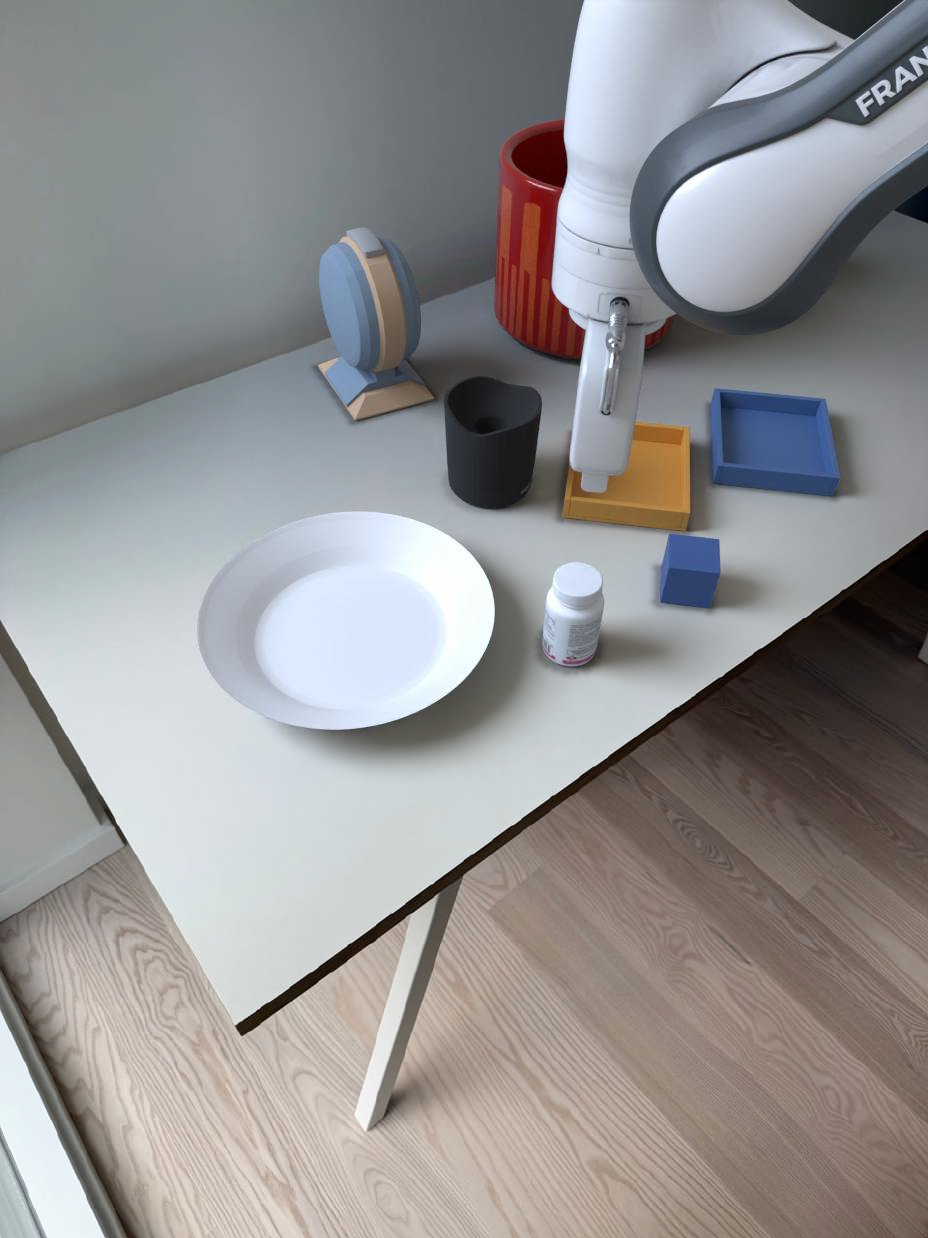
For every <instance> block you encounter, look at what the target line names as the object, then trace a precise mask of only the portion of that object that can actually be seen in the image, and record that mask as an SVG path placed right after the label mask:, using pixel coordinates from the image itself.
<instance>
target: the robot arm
mask: <svg viewBox="0 0 928 1238" xmlns="http://www.w3.org/2000/svg"><path fill="white" fill-rule="evenodd" d="M565 104H566V105H565V113H564V119H565V124H564V142H565V147H566V153H567V159H568V172H567V178H566V183H565V186H564V189H563V191H562V194H561V197H560V200H559V204H558V212H557V225H556V237H555V250H554V260H553V272H552V289H553V292H554V294H555V296H556V297H557V299H558V300H559V301H560V302H561V303H562V304H563V305H565V306H566V307H568V308H569V314H570V316H571V318H572V319H573V321H574V322H575V323H576V324H578V325H579V326H580V327H581V328H583V329H585V330H586V333H585V339H584V345H583V352H582V358H581V360H580V366H579V373H578V379H577V389H576V396H575V404H574V412H573V422H572V430H571V438H570V446H569V447H570V448H569V463H570V465H571V468H572V469H573V470H575V471H578V472H583V473H582V482H581V488H582V490H584V491H586V492H594V493H603V492H605V491H606V490H607V486H608V480H609V475H610V476H619V475H622V474H623V473H624V472H625V470H626V468H627V466H628V462H629V457H630V452H631V446H632V440H633V434H634V428H635V422H637V421H636V420H637V413H638V409H639V402H640V395H641V390H642V389H641V388H642V381H643V372H644V364H645V363H644V362H645V361H644V360H645V350H644V349H645V335H648V334H651V333H653V332H655V331H656V330H658V329H660V328H661V327H662V326H663V325H664V323H665V322H666V319H667V318H668V317H670V316H673V315H675V316H676V315H678V316H679V317H680V318H682V319H684V320H686V321H687V322H689V323H690V324H692V325H694V326H697V327H699V328H701V329H703V330H706V331H708V332H709V331H710V332H712V333H716V334H721V335H726V336H735V337H747V336H748V337H749V336H756V335H757V336H758V335H763V334H766V333H771V332H774V331H776V330H777V331H778V330H779V329H781V328H784V327H785V326H788V325H790V324H792V323H793V322H795V321H796V320H798V319H799V318H801V317H802V316H803V315H805V314H806V313H807V312H808V311H809V310H810V309H811V308H813V307H814V306H815V304H817V303H818V301H819V300H821V298H822V297H823V296H824V295H825V294H826V292H827V290H828V289H829V288H830V287H831V285H832V284H833V283H834V281H835V280H836V278H837V277H838V275H839V274H840V273H841V271H842V270H843V268H844V266H845V265H847V263H848V261H849V260H850V259H851V257H852V255H853V254H854V253H855V251H856V250H857V249H858V248H859V246H860V245H861V244H862V243H863V241H864V240H865V239H866V238H867V236H868V235H869V234H870V233H871V232H872V231H873V230H874V229H875V228H876V227H877V226H878V225H879V224H880V223H881V222H883V220H884V219H885V218H886V217H888V216H889V215H890V214H891V213H892V212H893V211H894V210H896V209H897V208H898V207H901V205H902V204H904V203H905V202H906V201H908V200H909V199H911V198H912V197H913V196H915V195H917V194H918V193H919V192H921V191H922V190H924V189H925V188H927V187H928V0H902V1H901V2H900V3H899V4H898V5H896V6H894V8H892V9H891V10H890V11H889V12H887V14H885V15H883V17H882V18H880V19H879V20H878V21H877V22H875V23H874V24H873V25H872V26H870V27H869V28H868V29H867V30H866V31H864V32H863V33H862V34H861V35H860V36H859V37H857V38H851V37H850V36H848V35H846V34H843V33H841V32H840V31H838V30H835V29H833V28H831V27H830V26H828V25H825V24H824V23H822V22H821V21H818V20H816V19H815V18H814V17H812V16H810V15H809V14H807V13H806V12H804V11H803V10H801V9H800V8H798V7H797V6H795V5H794V4H793V3H792V2H790V1H789V0H583V3H582V6H581V10H580V14H579V19H578V23H577V28H576V33H575V39H574V45H573V49H572V56H571V64H570V71H569V79H568V84H567V93H566V103H565Z"/></svg>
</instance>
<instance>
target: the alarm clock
mask: <svg viewBox="0 0 928 1238" xmlns="http://www.w3.org/2000/svg"><path fill="white" fill-rule="evenodd" d="M345 233H346V236H342V237H341V239H340V240H339V241H338V242H336V243H333V244H331V245H330V246H329V248H328V249H327V250H326V251H324V253H323V254H322V256H321V258H320V263H319V268H318V269H319V270H318V285H319V294H320V301H321V305H322V310H323V315H324V318H325V322H326V325H327V328H328V331H329V334H330V336H331V339H332V341H333V343H334V346H335V347H336V349H337V351H338V353H339V354H340V356H339V357H336V358H333V359H331V360H330V359H329V360H327V361H325V362H322V363H319V364H317V367H318V369H319V371H320V372H321V374H322V375H323V376H324V377H325V379H326V380H327V382H328V383H329V385H330V386H331V388H332V389H333V391H334V393H335V394H336V395H337V397H338V398H339V399H340V401H341V403H342V404H343V405H344V407H345V408H346V410H347V411H348V413H349V414H350V416H351V417H352V418H353V420H354V421H355V422H357V421H362V420H366V419H368V418H373V417H376V416H380V415H383V414H387V413H391V412H394V411H398V410H401V409H405V408H409V407H412V406H416V405H420V404H423V403H427V402H431V401H435V399H436V398H435V396H434V395H433V394H432V393H431V391H430V390H429V389H428V388H427V386H426V385H427V384H426V383H425V381H423V379H422V378H421V377H420V375H419V374H418V373H417V372H416V371H415V369H414V368H413V367H412V366H411V364H410V363H409V361H407V359H409V358H411V356H412V355H413V354H414V353H415V352H416V350H417V349H418V347H419V345H420V339H421V335H422V334H421V333H422V313H421V304H420V299H419V292H418V289H417V285H416V281H415V278H414V274H413V272H412V270H411V267H410V265H409V263H408V261H407V259H406V257H405V255H404V253H403V252H402V250H401V249H400V248H399V246H398V245H397V243H395V242H394V241H392V240H391V239H389V238H387V237H385V236H383V235H376V234H375V232H373V231H372V230H371V229H369V228H367V227H364V226H362V227H358V228H352V229H348V230H346V231H345Z"/></svg>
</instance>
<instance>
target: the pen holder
mask: <svg viewBox="0 0 928 1238" xmlns="http://www.w3.org/2000/svg"><path fill="white" fill-rule="evenodd" d="M443 409H444V411H443V412H444V430H445V447H446V464H447V478H448V484H449V487H450V489H451V491H452V493H454V495H455V496H456V497H458V499H460V500H461V501H463V502H465V503H466V504H468V505H472V506H474V507H477V508H484V509H498V508H499V509H501V508H504V507H509V506H512V505H513V504H516V503H517V502H519V501H520V500H522V499H523V498H524V497H526V496H527V494H528V493H529V492H530V489H531V487H532V483H533V478H534V472H535V465H536V457H537V450H538V443H539V442H538V441H539V434H540V425H541V420H542V419H541V418H542V411H543V410H542V409H543V399H542V396H541V394H540V392H539V391H538V390H537V389H536V388H534V387H532V386H529V385H521V384H520V385H519V384H512V383H508V382H505V381H503V380H501V379H498V378H495V377H493V376H489V375H482V374H479V375H471V376H468V377H465V378H463V379H460V380H458V381H457V382H455V383H454V384H452V385H451V386H450V387H449V388H448V389H447V390H446V392H445V394H444V398H443Z"/></svg>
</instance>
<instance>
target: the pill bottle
mask: <svg viewBox="0 0 928 1238" xmlns="http://www.w3.org/2000/svg"><path fill="white" fill-rule="evenodd" d="M551 584H552V585H551V587H550V588H549V590H548V592H547V594H546V600H545V607H544V608H545V610H544V619H543V627H542V629H543V630H542V637H541V639H542V640H541V646H542V651H543V652H544V654H545V656H546V657H547V658H548V659H549V660H550V661H552V662H553V663H556V664H557V665H560V666H564V667H579V666H582V665H584V664H587V663H588V662H590V661H591V660H592V659H593V657H594V656H595V655H596V653H597V649H598V645H599V644H598V643H599V639H600V638H599V637H600V631H601V627H602V620H603V614H604V608H605V597H604V593H603V585H604V578H603V576H602V573H601V572H600V571H599V570H598V568H596V567H595V566H593V565H591V564H589V563H585V562H581V561H573V562H567V563H564V564H562V565H561V566H559V567H558V568H557V569H555V572H554V574H553V577H552V583H551Z"/></svg>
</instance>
